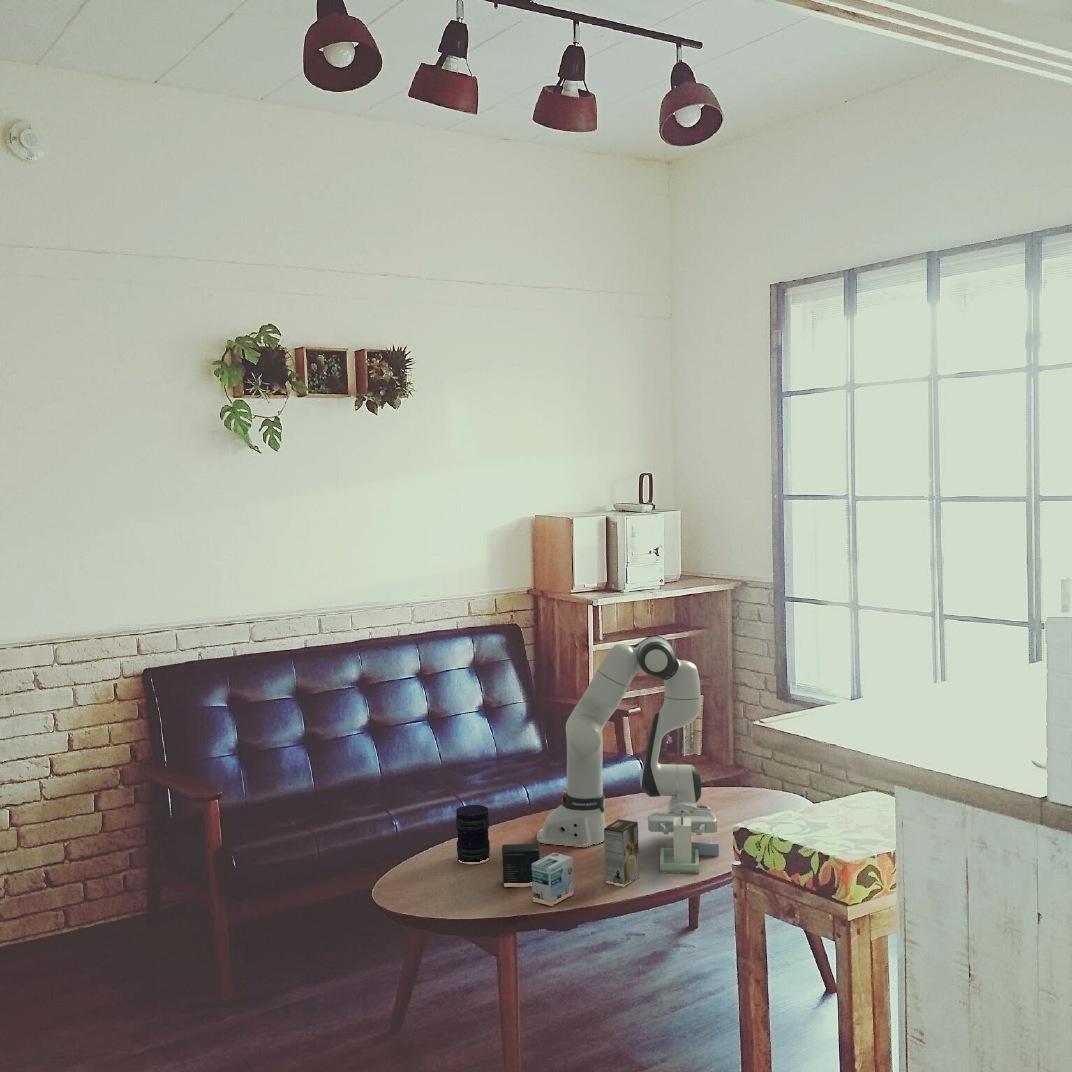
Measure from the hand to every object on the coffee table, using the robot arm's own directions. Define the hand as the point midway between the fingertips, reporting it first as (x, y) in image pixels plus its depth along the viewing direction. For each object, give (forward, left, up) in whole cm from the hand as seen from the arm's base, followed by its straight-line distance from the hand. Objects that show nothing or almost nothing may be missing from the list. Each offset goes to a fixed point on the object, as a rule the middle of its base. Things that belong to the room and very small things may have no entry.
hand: (682, 832), depth 325 cm
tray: (-1, 0, -10) cm, 10 cm away
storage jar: (-62, +1, -10) cm, 63 cm away
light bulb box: (-35, -27, -10) cm, 45 cm away
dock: (+5, +13, -10) cm, 17 cm away
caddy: (0, 0, -9) cm, 9 cm away
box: (-45, -17, -10) cm, 49 cm away
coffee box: (-17, -13, -10) cm, 23 cm away
